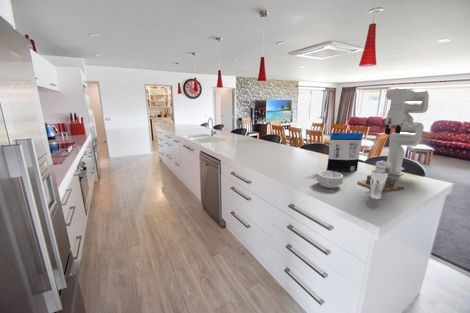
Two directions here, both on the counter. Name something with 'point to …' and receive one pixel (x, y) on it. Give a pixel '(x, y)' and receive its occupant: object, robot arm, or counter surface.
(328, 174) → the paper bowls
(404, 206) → the counter surface
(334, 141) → the protein powder
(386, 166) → the syrup box
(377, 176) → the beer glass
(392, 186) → the holder
